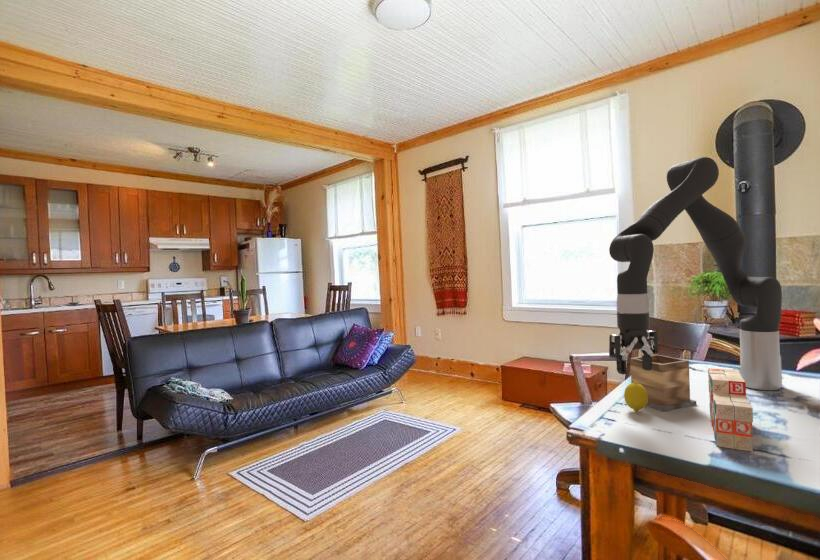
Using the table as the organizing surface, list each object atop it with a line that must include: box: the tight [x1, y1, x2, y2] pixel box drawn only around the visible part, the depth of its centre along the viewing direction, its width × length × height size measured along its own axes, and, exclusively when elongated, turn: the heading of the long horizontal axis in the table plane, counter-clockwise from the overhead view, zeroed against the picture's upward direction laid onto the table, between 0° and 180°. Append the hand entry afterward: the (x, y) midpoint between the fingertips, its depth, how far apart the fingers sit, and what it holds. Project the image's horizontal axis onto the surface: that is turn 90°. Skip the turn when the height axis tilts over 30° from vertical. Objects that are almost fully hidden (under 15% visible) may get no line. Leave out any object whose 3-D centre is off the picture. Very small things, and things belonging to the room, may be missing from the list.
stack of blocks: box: [707, 368, 754, 452], centre depth 96 cm, size 21×6×12 cm, turn 147°
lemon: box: [623, 382, 648, 413], centre depth 111 cm, size 6×6×8 cm
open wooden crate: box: [629, 353, 698, 412], centre depth 118 cm, size 12×12×12 cm
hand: (634, 371), depth 111 cm, fingers open, 8 cm apart
